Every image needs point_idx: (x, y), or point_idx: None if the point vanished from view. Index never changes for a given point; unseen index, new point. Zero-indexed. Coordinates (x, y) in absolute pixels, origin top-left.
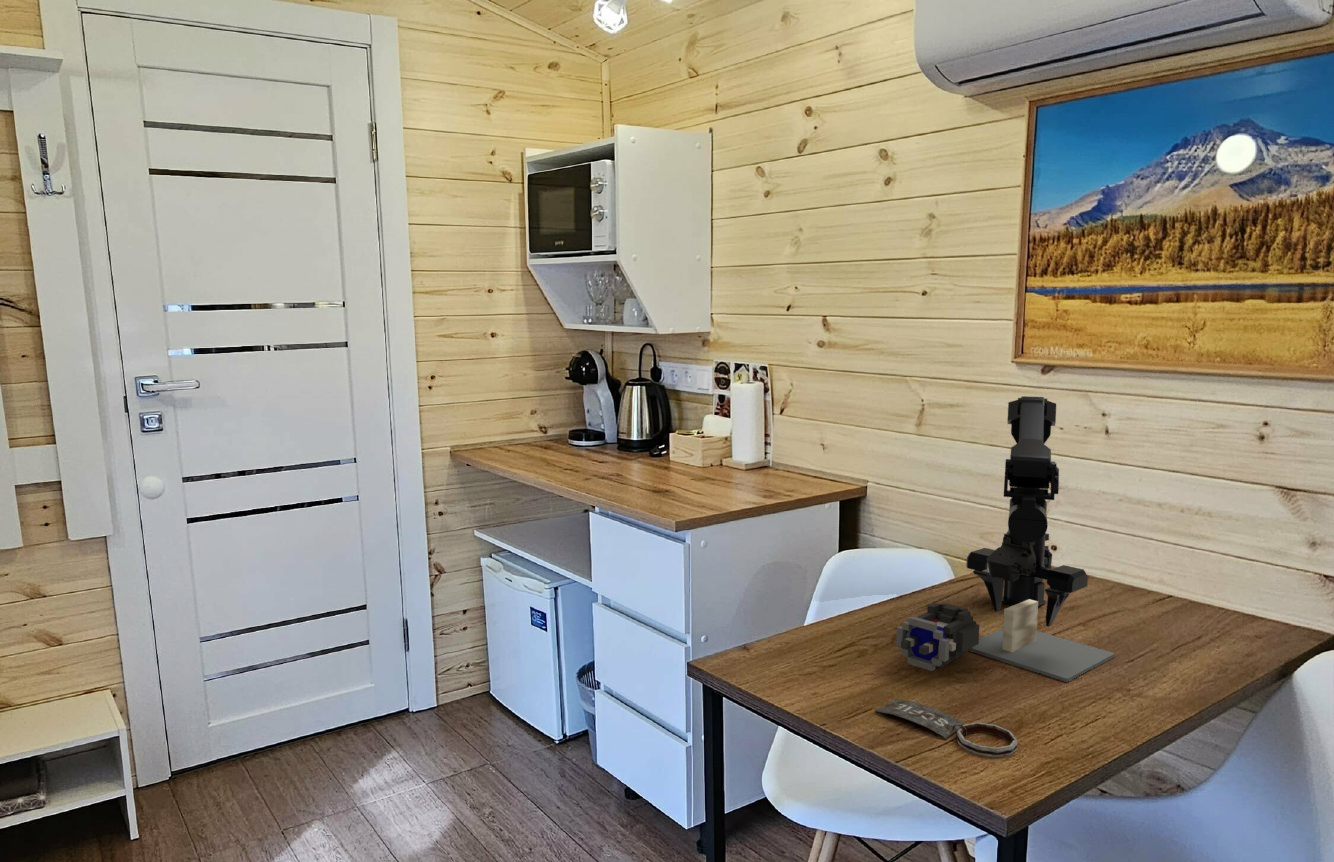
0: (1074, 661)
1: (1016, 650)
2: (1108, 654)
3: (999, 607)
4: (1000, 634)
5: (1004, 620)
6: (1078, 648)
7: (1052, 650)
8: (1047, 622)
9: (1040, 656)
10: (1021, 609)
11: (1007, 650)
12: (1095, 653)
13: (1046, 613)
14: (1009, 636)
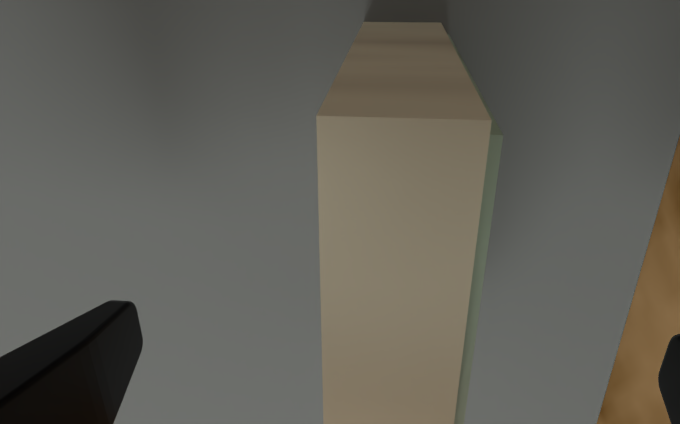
0: (29, 187)
1: None
2: None
3: (678, 404)
4: (580, 283)
5: (459, 77)
6: (150, 371)
7: (211, 257)
8: (93, 314)
9: (192, 110)
10: (322, 322)
11: (396, 22)
12: None
13: (35, 370)
14: (381, 41)
